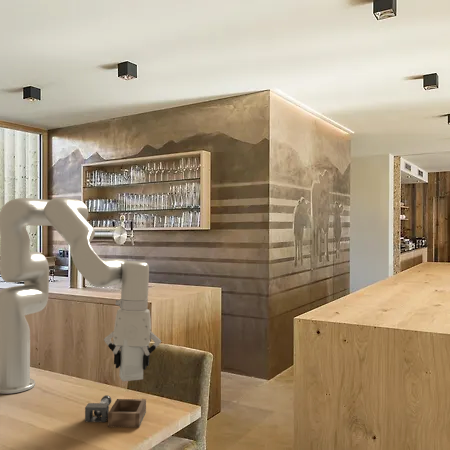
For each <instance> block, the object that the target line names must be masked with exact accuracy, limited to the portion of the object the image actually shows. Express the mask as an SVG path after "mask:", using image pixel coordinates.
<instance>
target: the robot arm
mask: <svg viewBox="0 0 450 450" xmlns="http://www.w3.org/2000/svg"><path fill="white" fill-rule="evenodd" d="M88 218H89V208H88V207H87V205H86V204H85V203H84V201H82V200H79V199H76V198H68V197H55V198H52V199H44V198H43V199H41V198H40V199H39V198H31V197H20V198H13V199H11V200H9V201H7V202H6V203H5V204H4V205H3V206H2V208H1V209H0V277H1V279H2V280H3V281H5V282H6V283H10V284H13V283H21V282H22V283H23V285H16V286H10V287H6V288H3V289H2V290H0V395H3V394H4V395H5V394H6V395H7V394H16V393H17V394H18V393H22V392H26V391H28V390H31V389H33V388H34V387H35V385H36V381H35V379H33V378H32V377H31V330H30V329H31V328H30V325H29V322H28V320H27V318H26V316H27V315H31V314H35V313H40V312H41V311H43V310H44V309H45V308H46V307H47V305H48V301H49V291H50V290H49V289H50V288H49V285H50V283H49V282H50V266H49V262H48V259H47V257H46V256H45V255H44V254H43V253H41V252H38V251H36V250H35V251H34V250H33V251H31V250H30V249H31V248H30V247H31V239H30V235H29V233H28V230H27V229H26V227H27V226H36V227H38V226H39V227H40V226H42V227H44V226H45V227H49V226H51V227H53V228H54V229H55V231H57V233H58V234H59V235H60V236H61V237H62V238H63V240H64V241H65V242H66V243H67V244H68V246H69V247H70V253H71V255H70V256H71V258H72V259H71V260H72V263H73V265H74V266H75V268H76V269H77V271H78V272H79V273H80V274H81V275H82V276H83V278H84V280H86V281H87V282H88V283H90V284H91V285H92V286H94V287H96V288H106V287H111V286H116V285H121V291H120V299H117V300H115V305H116V306H119V309H117V311H116V314H115V321H114V328H113V331H112V332H110V334H108V335H107V336H106V337H104V338H103V341H104V342H105V345H106V346H107V347H108V349H110V350H111V351H112V353H113V365H115V369H120V347H121V346H123V340H124V339H127V346H129V347H142V348H143V350H144V356H143V371H144V370H146V369H147V367H149V366H150V355H151V354H152V352H154V351H155V350H156V349H157V348H158V347H159V345H160V344H161V343H162V340H161V339H160V338H159V337H158V336H157V335H156V334H155V333H154V332H153V331H152V319H151V318H152V317H151V311H150V309H148V307H149V306H148V302H149V281H150V280H149V279H150V265H149V264H148V263H147V262H145V261H136V260H131V261H130V260H128V259H127V260H126V259H123V258H109V259H102V258H100V257H99V255H98V254H97V253H96V252H95V250H94V249H93V247H92V246H91V244H90V243H91V242H92V240H93V239H94V238H95V234H96V231H95V229H94V227H93V225H91V224H90V222H88ZM112 339H113V340H112ZM151 340H152V341H153V344H152V345H151V346H150V342H151Z"/></svg>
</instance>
